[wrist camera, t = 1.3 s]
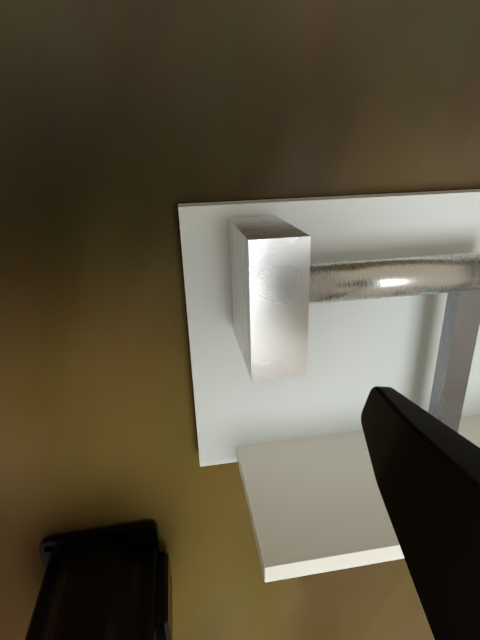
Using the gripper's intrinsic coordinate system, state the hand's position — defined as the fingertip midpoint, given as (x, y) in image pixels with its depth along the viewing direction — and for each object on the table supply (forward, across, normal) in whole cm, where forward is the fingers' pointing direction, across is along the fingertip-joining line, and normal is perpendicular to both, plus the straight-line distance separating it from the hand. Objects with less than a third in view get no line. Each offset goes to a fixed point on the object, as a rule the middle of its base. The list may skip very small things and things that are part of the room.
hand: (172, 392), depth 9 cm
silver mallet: (+9, -9, +4) cm, 13 cm away
